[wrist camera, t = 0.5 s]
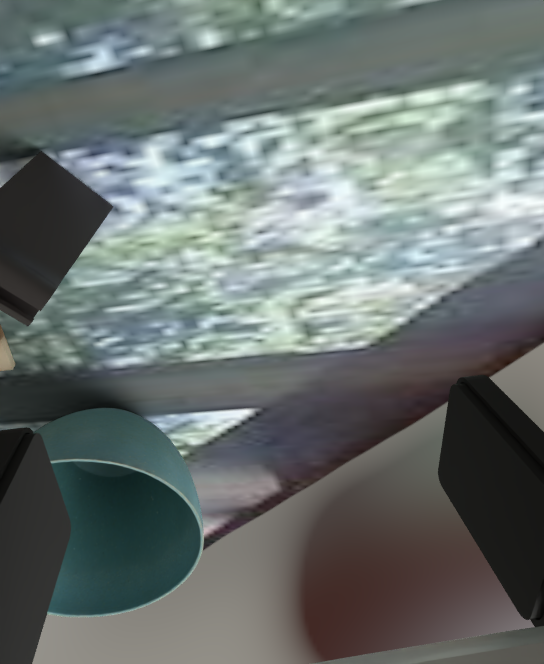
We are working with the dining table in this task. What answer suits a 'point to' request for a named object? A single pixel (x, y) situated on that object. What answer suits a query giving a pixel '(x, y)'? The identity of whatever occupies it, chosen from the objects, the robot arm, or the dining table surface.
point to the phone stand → (42, 233)
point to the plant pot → (121, 512)
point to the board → (5, 354)
